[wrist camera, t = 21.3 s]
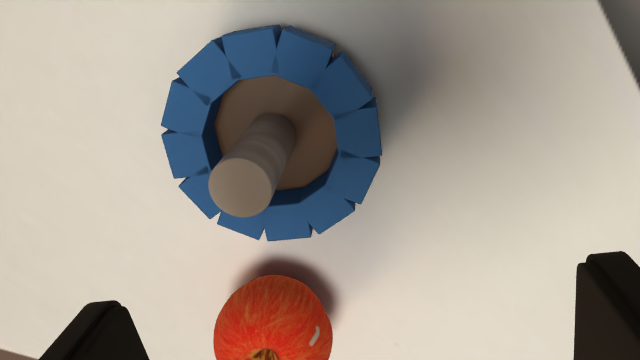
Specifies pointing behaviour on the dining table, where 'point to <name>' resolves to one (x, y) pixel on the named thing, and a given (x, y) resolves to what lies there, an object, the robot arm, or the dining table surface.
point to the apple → (273, 323)
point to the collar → (295, 66)
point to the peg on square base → (268, 143)
